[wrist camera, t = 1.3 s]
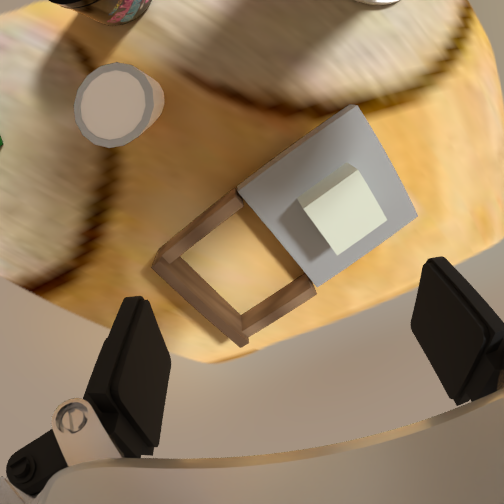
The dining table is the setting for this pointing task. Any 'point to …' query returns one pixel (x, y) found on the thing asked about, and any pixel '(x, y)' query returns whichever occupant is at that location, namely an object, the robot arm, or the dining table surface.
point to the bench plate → (313, 171)
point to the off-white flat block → (342, 208)
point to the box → (205, 296)
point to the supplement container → (107, 9)
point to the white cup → (117, 104)
